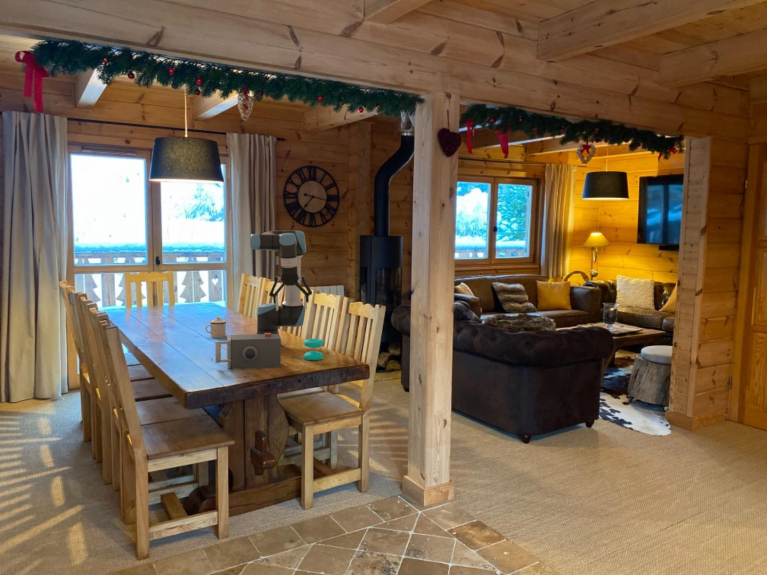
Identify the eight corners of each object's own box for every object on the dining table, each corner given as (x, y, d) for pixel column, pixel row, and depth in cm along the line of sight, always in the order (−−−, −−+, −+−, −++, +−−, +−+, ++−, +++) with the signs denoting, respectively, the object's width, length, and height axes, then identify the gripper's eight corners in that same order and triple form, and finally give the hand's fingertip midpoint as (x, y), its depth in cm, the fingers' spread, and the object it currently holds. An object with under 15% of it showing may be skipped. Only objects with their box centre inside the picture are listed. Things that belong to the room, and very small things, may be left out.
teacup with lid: (224, 334, 370) (223, 315, 368) (227, 337, 362) (227, 317, 361) (203, 335, 364) (203, 316, 363) (207, 338, 356) (207, 318, 355)
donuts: (308, 337, 318) (326, 338, 315) (308, 356, 319) (326, 357, 316) (300, 340, 308) (319, 342, 306) (300, 360, 309) (319, 362, 307)
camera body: (230, 363, 300) (230, 332, 298) (277, 361, 306) (278, 331, 304) (231, 370, 286) (231, 338, 285) (281, 368, 292) (281, 336, 291)
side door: (215, 362, 298) (215, 336, 297) (230, 361, 300) (229, 335, 299) (215, 368, 286) (215, 341, 285) (230, 367, 288) (230, 340, 287)
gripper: (261, 268, 284) (264, 312, 289) (315, 267, 285) (317, 310, 290) (263, 265, 292) (266, 308, 297) (316, 263, 292) (318, 306, 297)
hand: (291, 309), depth 293 cm, fingers open, 13 cm apart
